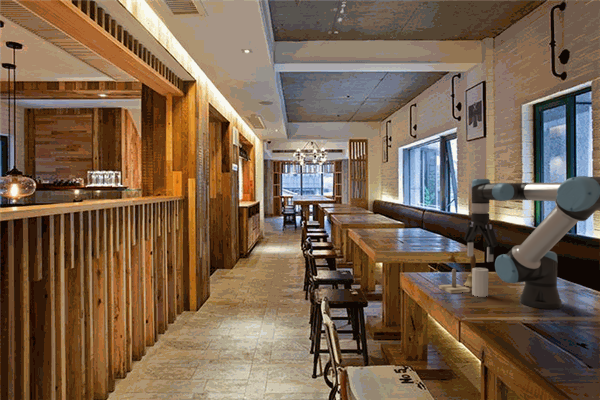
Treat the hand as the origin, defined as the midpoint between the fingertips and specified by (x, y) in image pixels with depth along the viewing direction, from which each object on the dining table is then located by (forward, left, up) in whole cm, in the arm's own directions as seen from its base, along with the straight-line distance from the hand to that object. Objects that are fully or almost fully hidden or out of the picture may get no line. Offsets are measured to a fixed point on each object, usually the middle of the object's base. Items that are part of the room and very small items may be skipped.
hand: (479, 258), depth 188 cm
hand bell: (+16, -8, -17) cm, 25 cm away
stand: (+11, +6, -17) cm, 21 cm away
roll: (0, 0, -17) cm, 17 cm away
